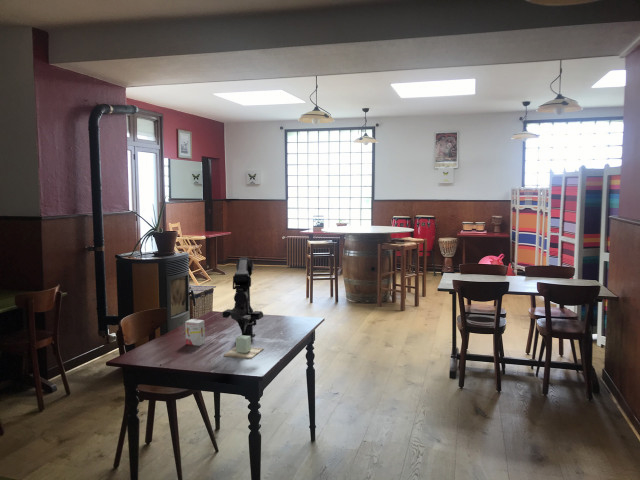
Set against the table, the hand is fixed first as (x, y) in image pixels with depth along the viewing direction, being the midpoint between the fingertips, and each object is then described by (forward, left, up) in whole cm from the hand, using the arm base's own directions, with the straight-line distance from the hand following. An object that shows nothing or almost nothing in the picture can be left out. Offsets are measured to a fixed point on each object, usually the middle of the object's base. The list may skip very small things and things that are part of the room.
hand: (243, 332), depth 242 cm
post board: (0, 0, -10) cm, 10 cm away
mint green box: (0, 0, -9) cm, 9 cm away
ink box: (-7, -30, -10) cm, 32 cm away
